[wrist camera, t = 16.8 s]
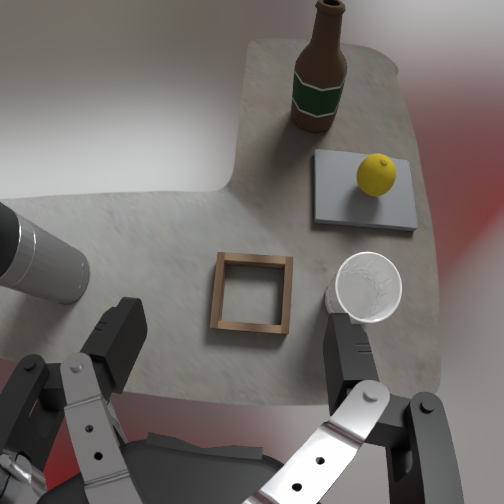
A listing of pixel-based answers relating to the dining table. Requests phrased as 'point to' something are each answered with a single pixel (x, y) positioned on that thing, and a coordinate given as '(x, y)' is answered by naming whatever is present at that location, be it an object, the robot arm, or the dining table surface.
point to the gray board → (360, 194)
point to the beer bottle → (320, 71)
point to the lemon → (376, 175)
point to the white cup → (364, 288)
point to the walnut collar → (256, 261)
